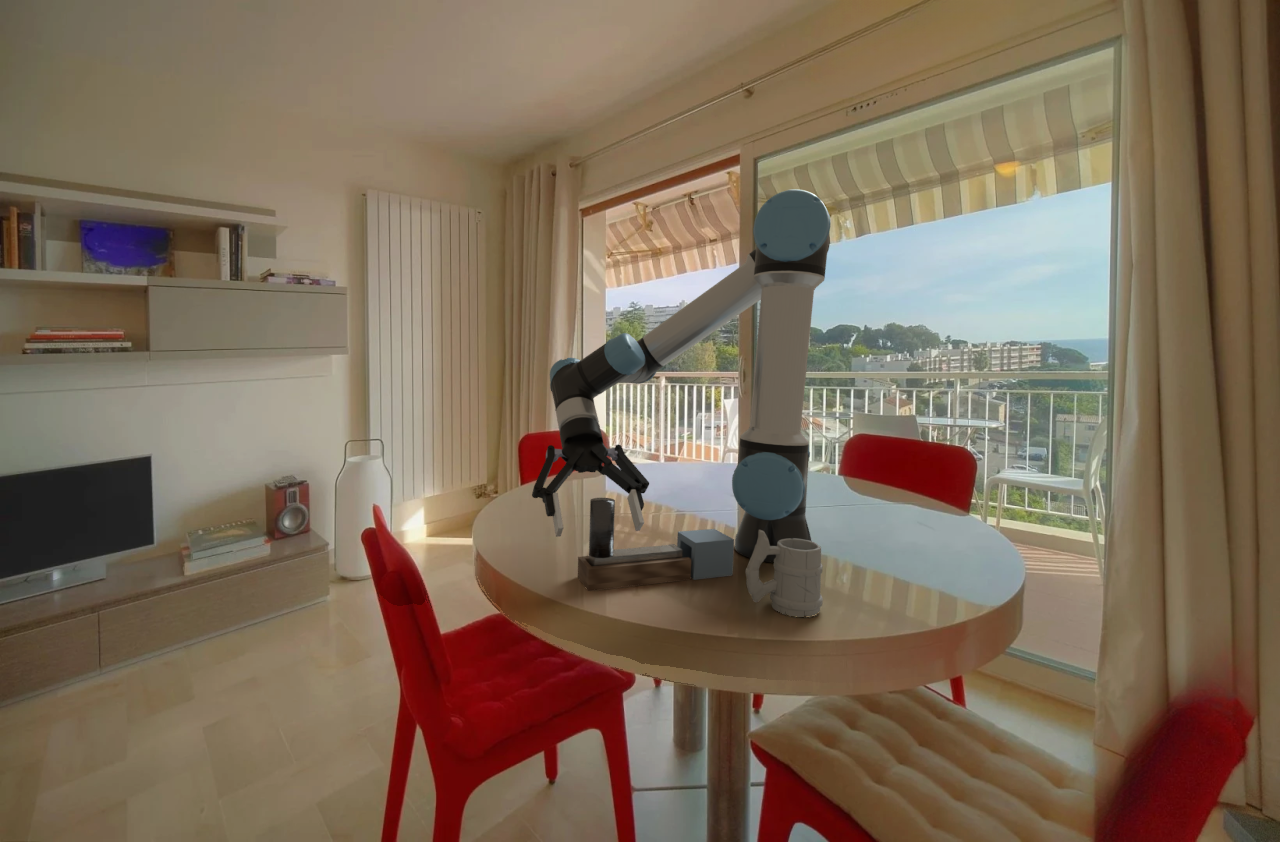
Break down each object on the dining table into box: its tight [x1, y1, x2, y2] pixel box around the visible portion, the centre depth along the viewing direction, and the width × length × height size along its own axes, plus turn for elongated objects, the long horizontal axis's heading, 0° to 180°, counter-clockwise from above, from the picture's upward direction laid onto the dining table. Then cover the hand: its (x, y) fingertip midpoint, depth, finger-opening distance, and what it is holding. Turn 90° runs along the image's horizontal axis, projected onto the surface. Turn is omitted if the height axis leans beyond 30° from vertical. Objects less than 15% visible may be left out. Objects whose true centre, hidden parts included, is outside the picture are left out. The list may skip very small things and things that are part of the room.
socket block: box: [676, 528, 735, 581], centre depth 99 cm, size 8×7×6 cm
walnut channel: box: [577, 555, 692, 592], centre depth 94 cm, size 18×6×4 cm, turn 112°
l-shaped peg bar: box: [588, 497, 683, 566], centre depth 94 cm, size 16×4×12 cm, turn 112°
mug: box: [745, 530, 824, 618], centre depth 83 cm, size 8×12×12 cm, turn 98°
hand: (600, 529), depth 91 cm, fingers open, 13 cm apart
